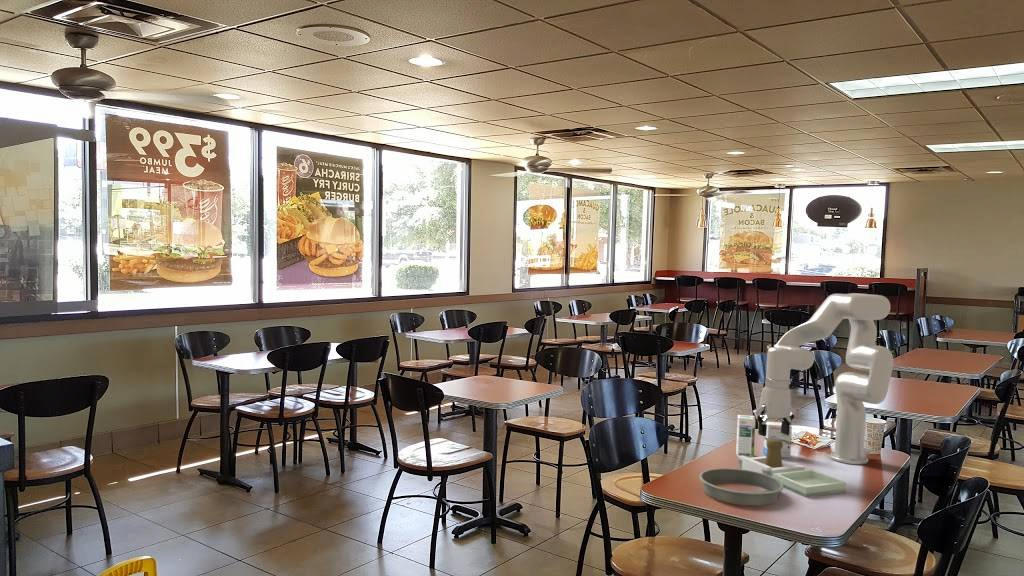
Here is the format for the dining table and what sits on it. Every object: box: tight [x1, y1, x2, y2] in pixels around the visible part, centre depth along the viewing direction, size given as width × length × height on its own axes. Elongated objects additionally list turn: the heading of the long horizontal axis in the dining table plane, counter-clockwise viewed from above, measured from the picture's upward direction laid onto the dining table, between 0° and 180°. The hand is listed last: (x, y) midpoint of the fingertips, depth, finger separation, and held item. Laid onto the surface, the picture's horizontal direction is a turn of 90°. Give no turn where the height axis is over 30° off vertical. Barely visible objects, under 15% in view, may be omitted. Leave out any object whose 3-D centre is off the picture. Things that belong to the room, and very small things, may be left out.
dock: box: [737, 455, 806, 477], centre depth 247 cm, size 16×14×4 cm
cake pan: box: [699, 467, 784, 506], centre depth 223 cm, size 25×25×4 cm
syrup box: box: [735, 414, 756, 458], centre depth 265 cm, size 6×6×14 cm
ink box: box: [763, 421, 793, 459], centre depth 266 cm, size 9×5×12 cm, turn 84°
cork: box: [765, 438, 783, 468], centre depth 247 cm, size 6×6×11 cm
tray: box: [773, 468, 847, 498], centre depth 231 cm, size 16×14×3 cm
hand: (773, 434), depth 246 cm, fingers open, 9 cm apart
